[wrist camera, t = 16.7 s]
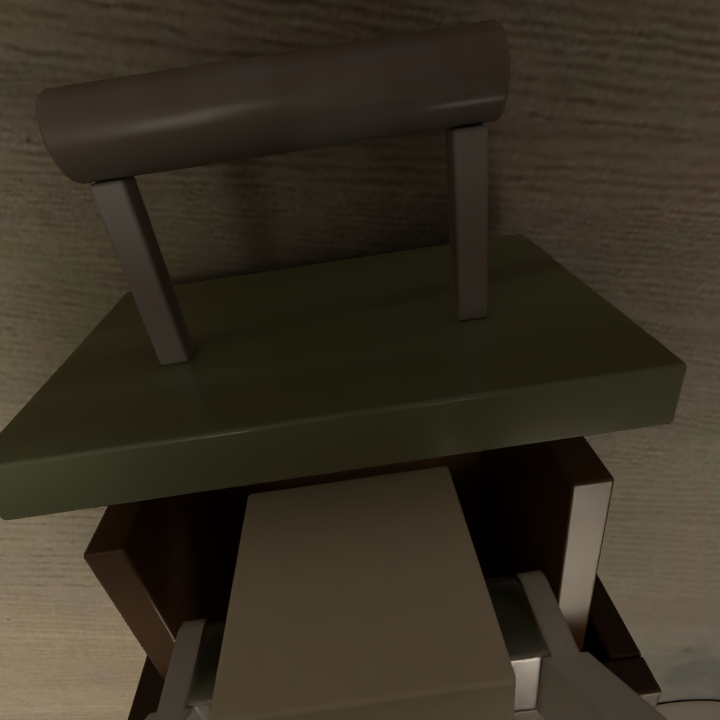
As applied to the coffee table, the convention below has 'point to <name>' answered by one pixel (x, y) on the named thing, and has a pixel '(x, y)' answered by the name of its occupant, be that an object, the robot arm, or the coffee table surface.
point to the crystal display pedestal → (690, 710)
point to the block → (361, 608)
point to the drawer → (324, 341)
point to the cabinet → (601, 641)
